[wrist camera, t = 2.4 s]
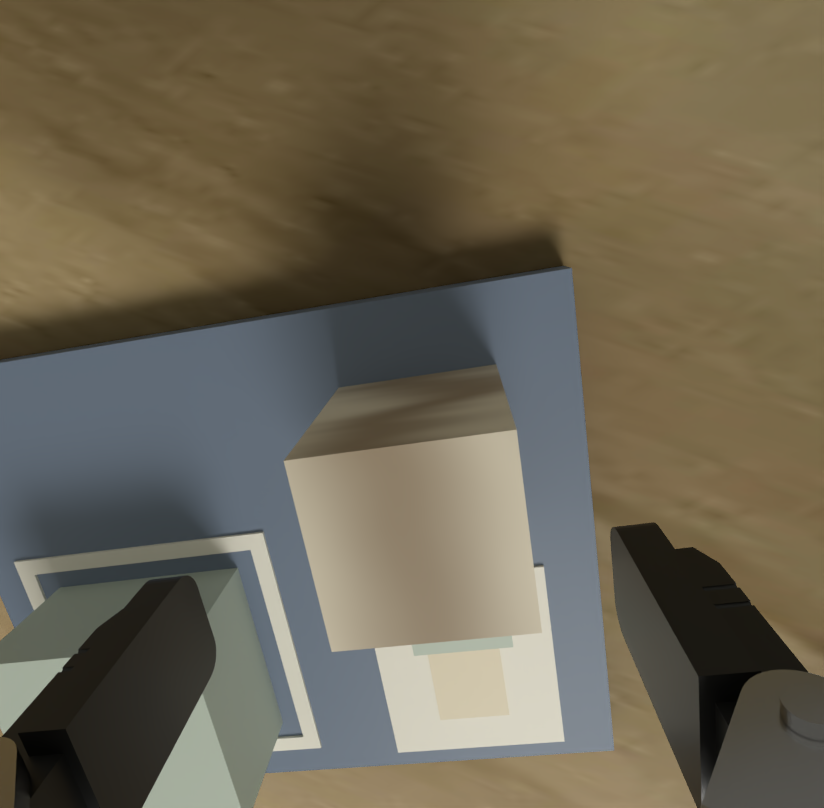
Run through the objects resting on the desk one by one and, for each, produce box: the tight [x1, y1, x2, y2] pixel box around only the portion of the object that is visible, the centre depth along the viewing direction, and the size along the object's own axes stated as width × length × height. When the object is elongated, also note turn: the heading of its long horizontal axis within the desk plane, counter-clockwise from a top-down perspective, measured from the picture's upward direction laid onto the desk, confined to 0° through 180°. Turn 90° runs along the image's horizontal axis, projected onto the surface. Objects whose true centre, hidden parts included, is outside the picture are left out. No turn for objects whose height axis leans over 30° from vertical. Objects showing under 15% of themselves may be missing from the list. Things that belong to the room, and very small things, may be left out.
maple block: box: [284, 364, 542, 652], centre depth 15 cm, size 5×5×6 cm
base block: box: [0, 568, 283, 808], centre depth 20 cm, size 7×7×4 cm
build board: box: [0, 266, 614, 773], centre depth 21 cm, size 22×18×1 cm
